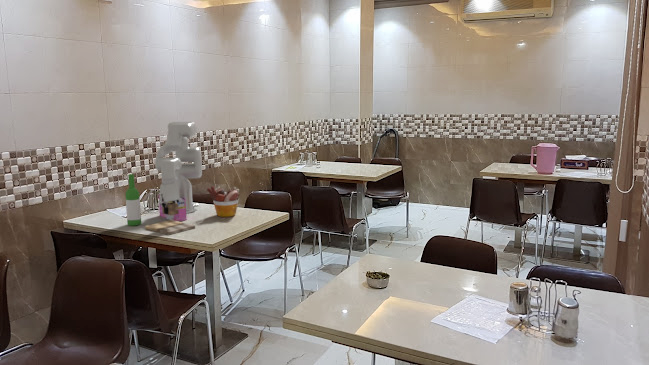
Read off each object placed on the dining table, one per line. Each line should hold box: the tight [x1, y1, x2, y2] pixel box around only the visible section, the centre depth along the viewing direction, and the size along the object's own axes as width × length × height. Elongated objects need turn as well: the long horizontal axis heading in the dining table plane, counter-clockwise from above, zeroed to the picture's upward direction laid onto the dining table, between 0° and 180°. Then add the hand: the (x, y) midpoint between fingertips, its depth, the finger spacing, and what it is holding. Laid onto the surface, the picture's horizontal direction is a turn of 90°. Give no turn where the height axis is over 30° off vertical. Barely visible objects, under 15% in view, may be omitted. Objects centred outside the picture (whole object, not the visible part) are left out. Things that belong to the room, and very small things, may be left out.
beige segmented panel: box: [144, 219, 185, 233], centre depth 292 cm, size 18×12×2 cm, turn 143°
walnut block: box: [162, 202, 179, 215], centre depth 287 cm, size 5×8×6 cm, turn 53°
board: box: [158, 222, 196, 236], centre depth 286 cm, size 18×9×2 cm, turn 143°
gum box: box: [158, 194, 187, 222], centre depth 315 cm, size 24×8×14 cm, turn 42°
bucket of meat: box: [207, 185, 240, 218], centre depth 320 cm, size 20×16×20 cm
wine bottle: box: [124, 173, 142, 227], centre depth 297 cm, size 8×8×30 cm
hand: (170, 212), depth 287 cm, fingers closed on walnut block, 5 cm apart
